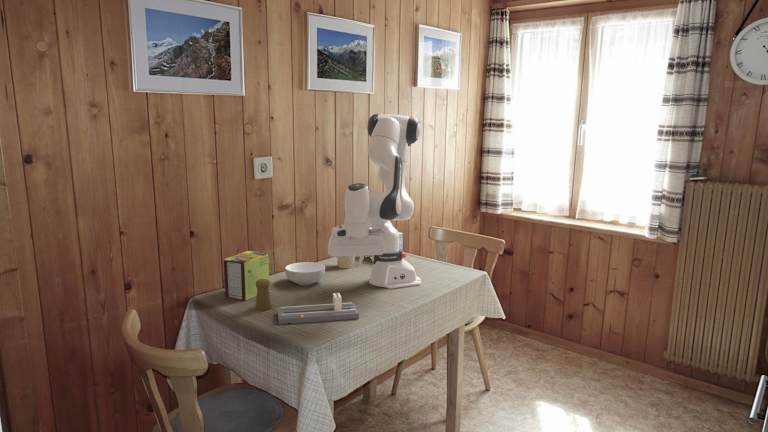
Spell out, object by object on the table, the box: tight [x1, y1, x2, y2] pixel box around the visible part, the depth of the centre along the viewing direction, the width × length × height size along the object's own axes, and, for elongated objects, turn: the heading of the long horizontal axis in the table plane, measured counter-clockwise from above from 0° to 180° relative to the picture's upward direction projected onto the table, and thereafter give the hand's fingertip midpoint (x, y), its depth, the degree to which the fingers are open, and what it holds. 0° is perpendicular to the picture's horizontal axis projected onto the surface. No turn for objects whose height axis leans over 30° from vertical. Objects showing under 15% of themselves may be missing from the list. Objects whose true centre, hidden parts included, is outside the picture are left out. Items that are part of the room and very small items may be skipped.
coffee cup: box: [336, 256, 356, 269], centre depth 256 cm, size 9×9×12 cm
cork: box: [254, 279, 273, 312], centre depth 200 cm, size 6×6×11 cm
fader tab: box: [332, 292, 343, 310], centre depth 195 cm, size 2×5×5 cm, turn 13°
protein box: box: [223, 250, 270, 301], centre depth 216 cm, size 10×15×16 cm
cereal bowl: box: [284, 261, 326, 286], centre depth 232 cm, size 17×17×7 cm
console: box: [277, 301, 360, 325], centre depth 194 cm, size 28×11×3 cm, turn 103°
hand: (356, 267), depth 194 cm, fingers closed
